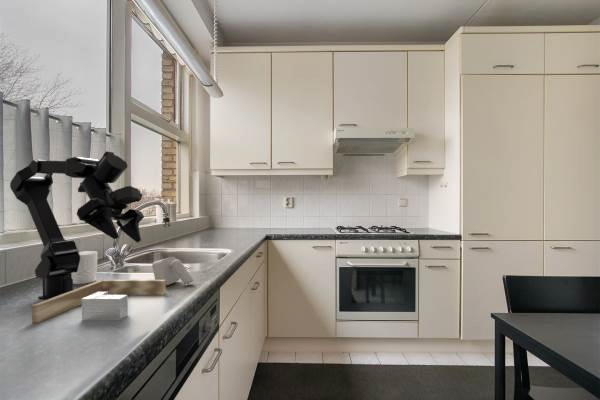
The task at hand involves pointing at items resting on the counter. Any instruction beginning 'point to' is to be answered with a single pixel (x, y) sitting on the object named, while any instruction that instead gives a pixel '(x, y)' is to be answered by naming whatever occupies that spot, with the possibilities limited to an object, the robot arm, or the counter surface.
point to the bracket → (104, 307)
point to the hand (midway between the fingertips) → (128, 239)
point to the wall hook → (171, 271)
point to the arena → (74, 297)
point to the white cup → (86, 268)
